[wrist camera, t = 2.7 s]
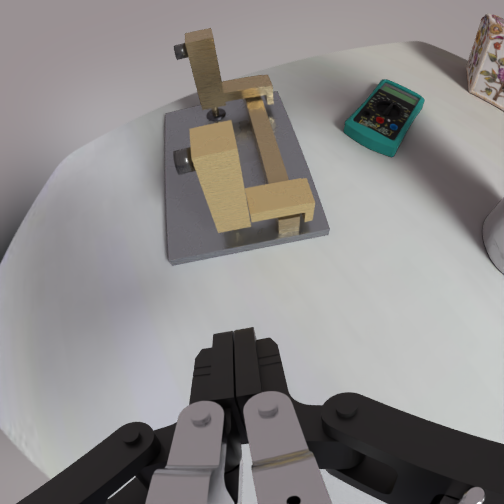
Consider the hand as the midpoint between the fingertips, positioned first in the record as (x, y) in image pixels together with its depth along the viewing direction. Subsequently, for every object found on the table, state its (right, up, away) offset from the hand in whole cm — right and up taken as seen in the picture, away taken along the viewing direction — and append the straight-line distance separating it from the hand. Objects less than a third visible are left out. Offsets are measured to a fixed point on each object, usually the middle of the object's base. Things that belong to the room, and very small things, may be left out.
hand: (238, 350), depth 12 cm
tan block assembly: (0, +15, +24) cm, 28 cm away
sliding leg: (+1, +7, +19) cm, 20 cm away
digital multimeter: (+19, +22, +28) cm, 40 cm away
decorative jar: (+47, +35, +31) cm, 66 cm away
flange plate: (-2, +14, +25) cm, 29 cm away
